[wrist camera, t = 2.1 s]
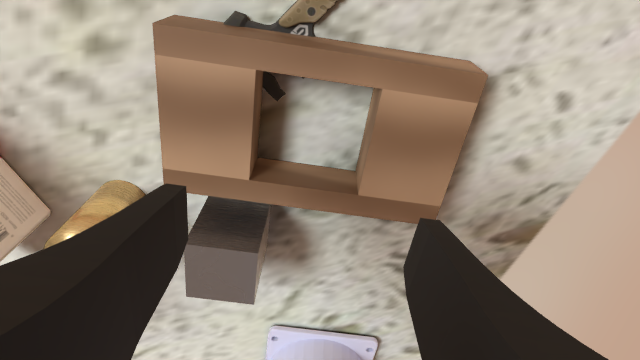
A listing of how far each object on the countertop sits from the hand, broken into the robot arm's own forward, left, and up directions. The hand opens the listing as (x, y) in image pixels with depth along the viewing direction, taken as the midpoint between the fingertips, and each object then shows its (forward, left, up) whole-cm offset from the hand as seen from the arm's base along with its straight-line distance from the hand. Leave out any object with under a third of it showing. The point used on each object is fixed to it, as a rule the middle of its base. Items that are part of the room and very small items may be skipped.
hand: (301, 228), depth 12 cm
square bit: (-7, +3, -10) cm, 12 cm away
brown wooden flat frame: (0, 0, -9) cm, 9 cm away
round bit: (-7, +10, -9) cm, 16 cm away
